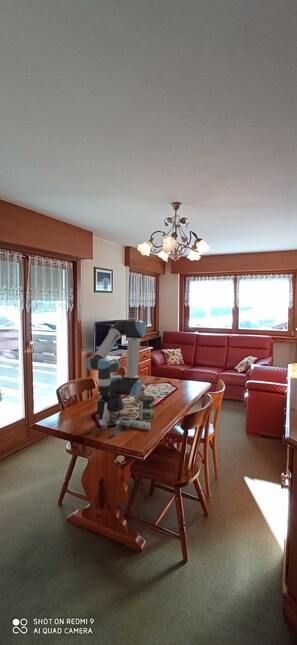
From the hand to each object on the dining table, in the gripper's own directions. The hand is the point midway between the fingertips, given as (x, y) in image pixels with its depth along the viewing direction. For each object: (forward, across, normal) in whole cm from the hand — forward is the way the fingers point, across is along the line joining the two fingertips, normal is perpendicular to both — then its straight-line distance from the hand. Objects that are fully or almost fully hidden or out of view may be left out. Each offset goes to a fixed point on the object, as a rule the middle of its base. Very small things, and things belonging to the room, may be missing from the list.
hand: (104, 422), depth 187 cm
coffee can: (+4, +25, -18) cm, 31 cm away
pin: (+4, 0, 0) cm, 4 cm away
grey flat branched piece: (+4, +3, -16) cm, 17 cm away
